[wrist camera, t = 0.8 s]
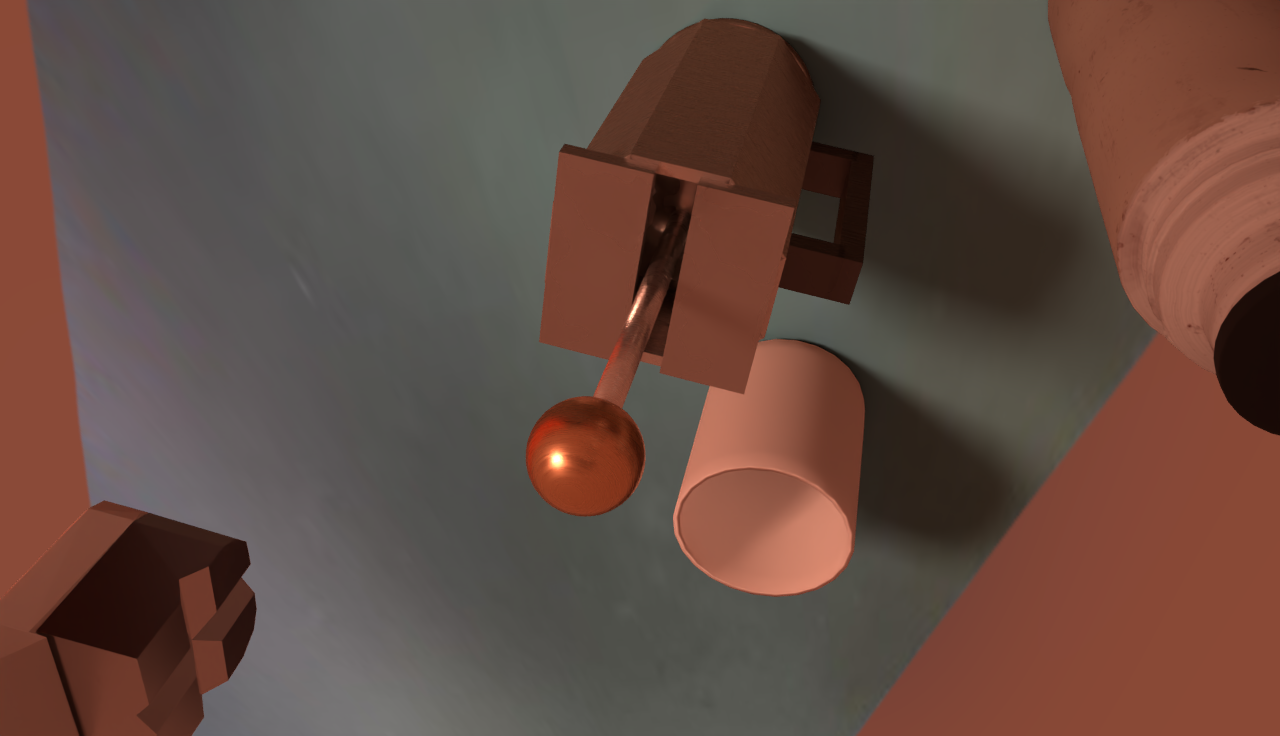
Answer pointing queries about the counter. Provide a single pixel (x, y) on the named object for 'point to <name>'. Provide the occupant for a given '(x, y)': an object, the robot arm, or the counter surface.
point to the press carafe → (703, 204)
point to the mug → (776, 474)
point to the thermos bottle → (1188, 172)
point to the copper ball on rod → (612, 383)
